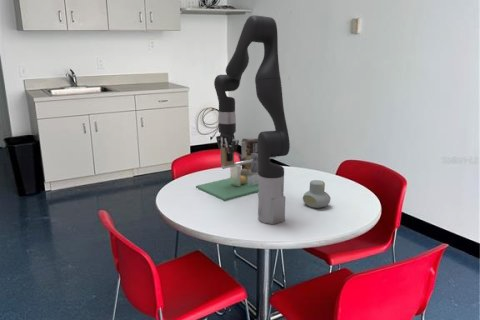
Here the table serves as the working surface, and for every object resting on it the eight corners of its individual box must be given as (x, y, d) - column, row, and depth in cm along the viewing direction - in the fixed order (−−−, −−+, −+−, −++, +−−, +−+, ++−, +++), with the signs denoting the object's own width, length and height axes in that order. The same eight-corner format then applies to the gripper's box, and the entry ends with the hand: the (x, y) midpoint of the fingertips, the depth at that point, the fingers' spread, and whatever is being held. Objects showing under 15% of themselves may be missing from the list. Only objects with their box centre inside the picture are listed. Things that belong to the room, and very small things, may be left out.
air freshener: (299, 204, 174) (300, 180, 172) (312, 199, 179) (313, 176, 177) (320, 211, 166) (321, 187, 163) (333, 207, 171) (334, 183, 169)
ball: (240, 178, 193) (242, 186, 194) (247, 175, 195) (248, 183, 196) (235, 176, 196) (236, 184, 197) (242, 173, 198) (243, 181, 199)
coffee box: (259, 168, 225) (260, 138, 221) (259, 171, 219) (259, 141, 215) (242, 168, 226) (242, 138, 222) (241, 171, 220) (241, 140, 215)
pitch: (267, 189, 192) (267, 187, 192) (224, 201, 178) (224, 198, 177) (237, 178, 209) (237, 176, 208) (196, 187, 194) (196, 185, 194)
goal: (259, 184, 196) (259, 174, 194) (248, 187, 192) (248, 176, 190) (243, 178, 204) (243, 168, 203) (233, 181, 200) (233, 171, 199)
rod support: (263, 183, 200) (263, 155, 197) (259, 184, 199) (260, 156, 195) (254, 180, 205) (254, 152, 202) (250, 181, 204) (251, 153, 200)
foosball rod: (278, 176, 206) (278, 139, 202) (226, 189, 188) (226, 148, 183) (271, 173, 210) (271, 137, 206) (219, 186, 192) (219, 146, 187)
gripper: (244, 122, 181) (244, 162, 185) (224, 118, 191) (224, 156, 196) (230, 124, 176) (230, 165, 181) (210, 120, 187) (211, 158, 191)
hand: (227, 160), depth 188 cm, fingers closed on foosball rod, 3 cm apart
